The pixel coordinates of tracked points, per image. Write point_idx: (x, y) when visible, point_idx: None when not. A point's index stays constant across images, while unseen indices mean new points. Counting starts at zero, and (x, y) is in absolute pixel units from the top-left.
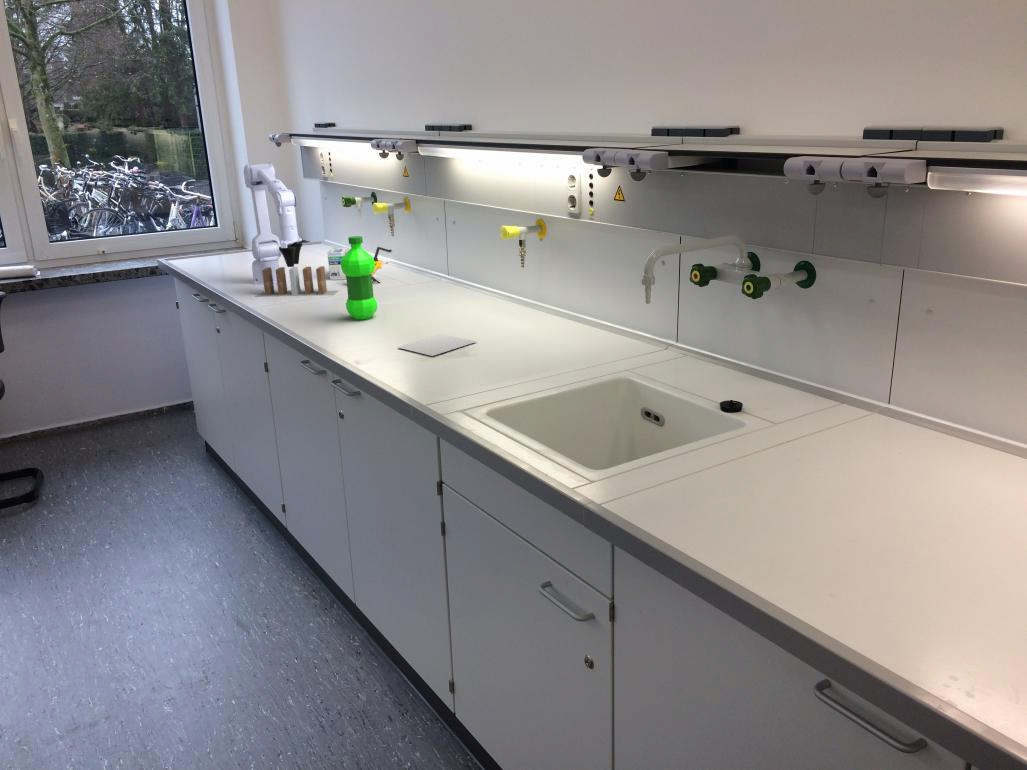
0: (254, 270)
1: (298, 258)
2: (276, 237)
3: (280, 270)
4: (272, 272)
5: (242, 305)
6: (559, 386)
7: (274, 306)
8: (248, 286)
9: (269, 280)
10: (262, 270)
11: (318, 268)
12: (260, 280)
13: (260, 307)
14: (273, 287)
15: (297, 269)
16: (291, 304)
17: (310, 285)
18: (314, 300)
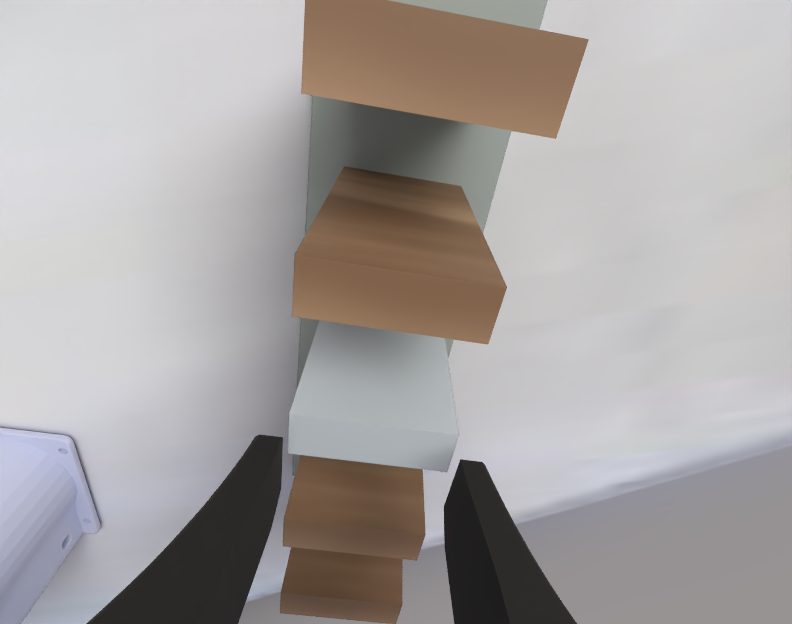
0: (27, 604)
1: (257, 494)
2: None
3: (412, 524)
4: (2, 520)
5: (582, 505)
6: None
7: (708, 371)
8: (124, 538)
9: None
10: (396, 619)
11: (514, 93)
12: (64, 525)
13: (686, 432)
14: None
15: (316, 397)
16: (714, 280)
17: (417, 198)
18: (668, 114)
